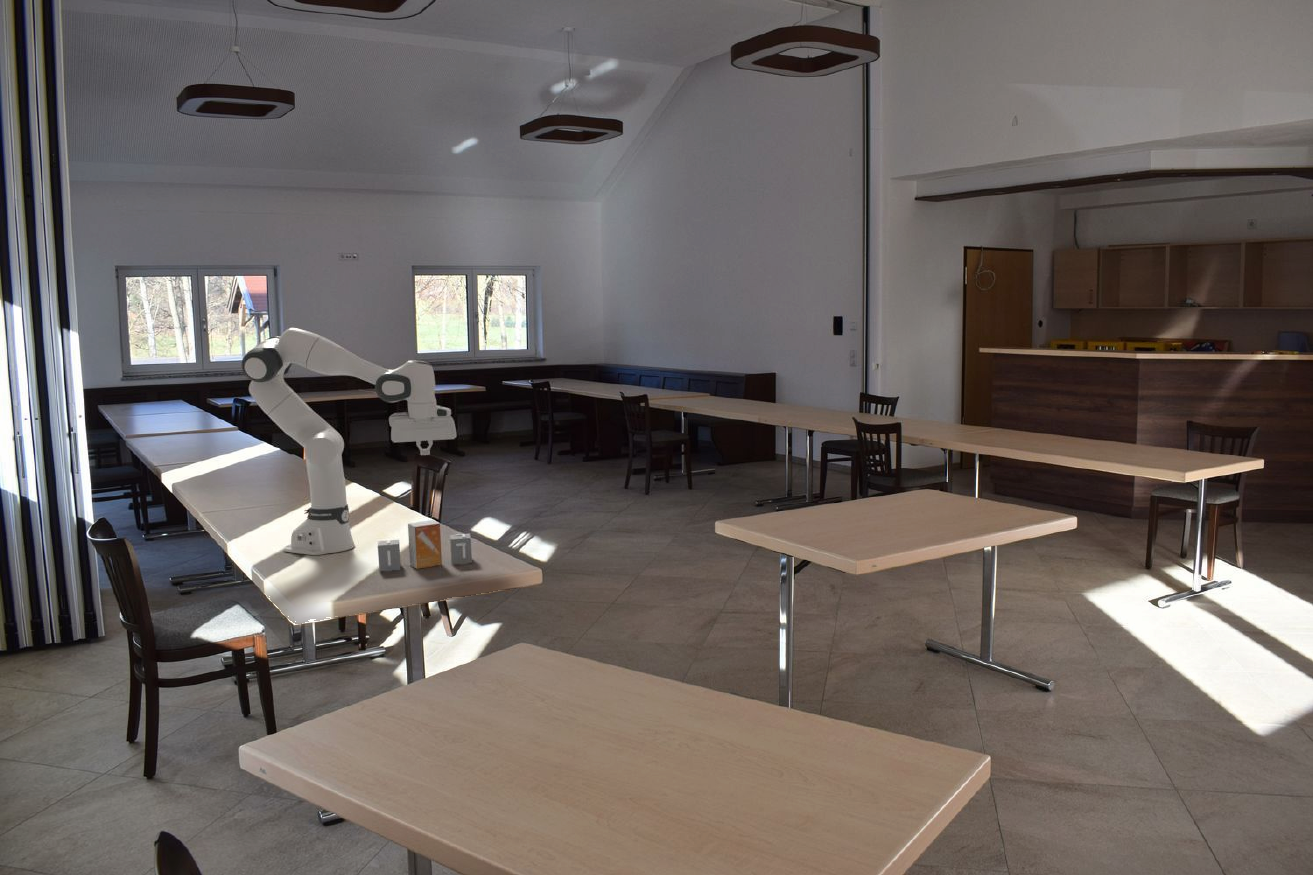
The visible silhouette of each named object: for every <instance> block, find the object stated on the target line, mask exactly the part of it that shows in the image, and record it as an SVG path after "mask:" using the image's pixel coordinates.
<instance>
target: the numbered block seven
mask: <svg viewBox="0 0 1313 875" xmlns="http://www.w3.org/2000/svg"><path fill="white" fill-rule="evenodd" d="M471 538H472V537H471V533H456V534H449V540H450V541H449V543H450V558H451V565H452V564H460V563H472V564H473V556H472V553H473V552H472V539H471ZM460 565H461V564H460Z"/></svg>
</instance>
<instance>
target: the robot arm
mask: <svg viewBox="0 0 1313 875" xmlns="http://www.w3.org/2000/svg"><path fill="white" fill-rule="evenodd" d="M293 364H295V365H298V366H301V367H303V368H305V369H307V370H309V371H312V372H315V373H318V374H321V375H326V376H348V377H349V376H350V377H355V378H358V379H360V380H363V381H365V382H368V383H370V384H371V385H374V389H375V392H376V395H377V397H379V399H380V400H382V401H383V402H387V403H396V402H397V403H398V402H400V401H407V411H405V412H404V411H403V412H394V413H393V414H391V415H390V416H389V417H388V422H389V426H390V427H391V431H390V437H391V438H390V440H391V441H392V443H406V442H407V443H408V442H410V443H411V442H416V444H415V445H416V447H417V448H418V450H419V451H420V453H419V454H420V456H428V455H429V456H430V455H431V448H432V446H433V443H434V442H433V441H441V440H442V441H443V440H455V438H457V429H456V424H455V420H454V418H453V416H451V415H452V409H451V408H449V407H444V406H442V405H437V399H436V395H435V394H436V393H435V391H436V380H435V379H436V377H435V373H434V368H433V365H432V364H430V362H428V361H424V360H418V359H417V360H416V359H410V360H407V361H406V362H405V363H404V364H402V365H400V366H399V367H397V368H387V367H384V366H383V365H382V366H381V365H379V364H377V363H374V362H372V361H369V360H367V359H365V358H362V357H359V356H358V355H356V354H354V353H353V352H351V351H349V350H348V349H346V348H344V347H342V346H341V345H340V344H338V343H336V342H334V341H332V340H330V339H328V338H326V337H324V336H322V335H319V334H317V333H315V332H311V331H308V330H304V329H301V328H297V327H289V328H287V329H286V330H285V331H283V333H281V334H280V335H279V336H271V337H269V338H267V339H265V340H263V341H261V342H259V343H257V344H256V345H255V346H254V347H253V348H252V349H250V350H248V351H247V352H246V354H245V355H243V358H242V361H241V370H242V372H243V374H244V375H245V377H246V378H247V379H249V381H250V383H249V386H248V392H249V394H250V396H251V397H252V399H253V400H254V402H255V403H256V404H257V405H258V406H259V408H260V409H261V410H262V411H263V413H264V414H266V415H267V416H268V417H269V418H270V419H271V420H272V422H274V423H275V425H277V427H279V429H281V430H282V432H284V434H286V435H287V436H289V437H290V438H292V439H293V440H294V441H296V443H298V444H299V445H300V446H302V447H303V449H304V457H305V466H306V470H307V477H308V483H309V495H310V507H309V508H308V509H305V510H304V515H306V514H307V516H306V517H307V518H306V519H305V520H304V521H303V522H302V523H300V524H299V525H298V526H297V527H296V528H295V529H294V530H293V531H292V532H291V538H290V544H288V545H286V546H284V549H283V551H284V552H285V553H287V552H288V553H292V554H293V553H294V554H301V555H309V556H310V555H311V556H320V555H325V554H326V555H327V554H330V553H331V554H333V553H334V554H335V553H339V552H340V553H341V552H345V551H348V550H351V549H353V548H355V547H356V545H355V541H354V539H353V535H352V531H351V527H350V521H349V520H350V509H349V504H348V501H347V489H346V488H347V487H346V478H345V474H344V466H343V456H342V455H343V452H344V448H345V442H344V439H343V437H342V435H341V434H340V433H339V432H338V431H337V430H336V429H335V428H334V427H333V426H332V425H330V424H329V423H328V422H327V421H326V420H325V419H324V418H323V417H322V416H320V415H319V414H318V413H316V411H314V410H313V409H312V408H311V407H310V406H309V405H308V404H307V403H306V402H305V401H304V400H303V399H302V397H300V396H299V395H298V394H297V393H296V392H295V391H294V389H293V388H291V387H290V386H289V385H288V383H287V382H286V381H285V379H284V375H287V373H288V372H289V370H290V369H291V367H292V365H293ZM424 441H425V442H426V441H427V444H428V446H427V448H422V446H421V444H422V442H424Z"/></svg>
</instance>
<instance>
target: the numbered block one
mask: <svg viewBox="0 0 1313 875" xmlns="http://www.w3.org/2000/svg"><path fill="white" fill-rule="evenodd" d="M400 548H401V547H400V539H389V540H378V543H377V551H378V552H377V554H378V556H377V557H378V569H379V572H380V573H382V572H381V571H385V572H393V571H392V570H396V571H401V565H402V564H401V550H400Z"/></svg>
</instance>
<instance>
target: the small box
mask: <svg viewBox="0 0 1313 875" xmlns="http://www.w3.org/2000/svg"><path fill="white" fill-rule="evenodd" d="M407 534H408V547H409V548H408V552H409V564H410V566H411V567H413V568H414V569H417V570H418V569H424V568H430V567H436V565H438V566H441V565H443V558H442V542H441V541H442V537H441V523H440V522H438V521H436V520H433V519H430V520H423V521H422V520H421V521H416V522H409V523H407Z"/></svg>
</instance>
